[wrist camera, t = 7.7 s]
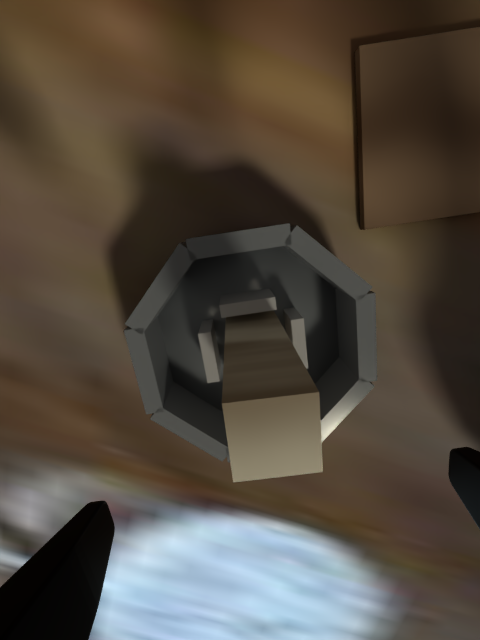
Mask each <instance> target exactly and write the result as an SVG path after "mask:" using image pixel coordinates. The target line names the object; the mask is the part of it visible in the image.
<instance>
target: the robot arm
mask: <svg viewBox="0 0 480 640" xmlns="http://www.w3.org/2000/svg"><path fill="white" fill-rule="evenodd" d="M449 479H450V482H451V484H452V486H453V487H454V489H455V491H456V492H457V494H458V495H459V497H460V499H461V500H462V502H463V503H464V505H465V507H466V508H467V510H468V511H469V513H470V514H471V516H472V518H473V519H474V521H475V522H476V524H477V526H478V527H479V529H480V452H479V451H476V450H474V449H472V448H469V447H462V448H455V449H452V450H451V451H450V457H449ZM114 530H115V527H114V522H113V519H112V516H111V513H110V510H109V507H108V505H107V503H106V502H105V501H96V502H90V503H88V504H87V505H86V506H84V507H83V508H82V509H81V510H80V511H79V512H78V513H77V514H76V515H75V516H74V517H73V518H72V519H71V520H70V521H69V522H68V523H67V524H66V525H65V526H64V527H63V528H62V529H60V530H59V531H58V532H57V533H56V534H55V535H54V536H53V537H52V538H51V539H50V540H49V541H48V542H47V543H46V544H45V545H44V546H43V547H42V548H41V549H40V550H39V551H38V552H37V553H36V554H34V555H33V556H32V557H31V558H30V559H29V560H28V561H27V562H26V563H25V564H24V565H23V566H22V567H21V568H20V569H19V570H18V571H17V572H16V573H15V574H14V575H13V576H12V577H11V578H10V579H8V580H7V581H6V582H5V583H4V584H3V585H2V586H1V587H0V640H88V639H89V636H90V632H91V629H92V626H93V623H94V619H95V616H96V612H97V609H98V605H99V601H100V597H101V593H102V588H103V583H104V579H105V574H106V569H107V565H108V560H109V556H110V551H111V546H112V542H113V537H114Z"/></svg>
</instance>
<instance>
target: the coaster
mask: <svg viewBox="0 0 480 640" xmlns="http://www.w3.org/2000/svg"><path fill="white" fill-rule="evenodd" d="M355 73H356V105H357V136H358V168H359V199H360V230H365V229H372V228H378V227H385V226H391V225H398V224H405V223H411V222H418V221H424V220H431V219H438V218H444V217H451V216H457V215H464V214H471V213H477V212H480V27H475V28H469V29H462V30H456V31H450V32H443V33H437V34H430V35H424V36H418V37H411V38H405V39H399V40H392V41H386V42H380V43H373V44H367V45H361V46H359V47H358V49H357V50H356V51H355Z"/></svg>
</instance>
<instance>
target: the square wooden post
mask: <svg viewBox="0 0 480 640" xmlns="http://www.w3.org/2000/svg"><path fill="white" fill-rule="evenodd" d="M222 408H223V415H224V422H225V428H226V435H227V442H228V449H229V455H230V462H231V469H232V476H233V482H241V481H249V480H258V479H266V478H275V477H283V476H292V475H300V474H309V473H317V472H323V464H322V442H321V419H320V397H319V391H318V389H317V387H316V385H315V383H314V382H313V380H312V378H311V376H310V375H309V373H308V371H307V369H306V367H305V366H304V364H303V362H302V360H301V358H300V357H299V355H298V353H297V351H296V349H295V348H294V346H293V344H292V342H291V340H290V339H289V337H288V335H287V333H286V332H285V330H284V328H283V326H282V324H281V323H280V321H279V319H278V317H277V315H276V314H275V312H274V311H266V312H258V313H251V314H244V315H238V316H231V317H226V323H225V345H224V367H223V389H222Z"/></svg>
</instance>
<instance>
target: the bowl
mask: <svg viewBox="0 0 480 640" xmlns="http://www.w3.org/2000/svg"><path fill="white" fill-rule="evenodd" d="M371 288H372V286H371V285H369V284H368V283H367V282H366V281H365V280H363V279H362V278H361V277H360V276H358V275H357V274H356V273H355V272H354V271H352V270H351V269H350V268H349V267H347V266H346V265H345V264H344V263H343V262H341V261H340V260H339V259H338V258H336V257H335V256H334V255H333V254H332V253H330V252H329V251H328V250H327V249H325V248H324V247H323V246H322V245H321V244H319V243H318V242H317V241H316V240H314V239H313V238H312V237H311V236H310V235H308V234H307V233H306V232H305V231H304V230H302V229H301V228H300V227H299V226H297V225H293V226H290V223H288V224H280V225H274V226H267V227H260V228H254V229H247V230H241V231H234V232H227V233H221V234H214V235H208V236H201V237H195V238H189V239H186V242H181V243H179V244H178V246H177V247H176V249H175V250H174V252H173V253H172V255H171V256H170V258H169V259H168V261H167V262H166V264H165V265H164V267H163V268H162V269H161V271H160V272H159V274H158V275H157V277H156V278H155V280H154V281H153V283H152V284H151V286H150V287H149V289H148V290H147V292H146V293H145V295H144V296H143V298H142V299H141V301H140V302H139V304H138V305H137V307H136V308H135V310H134V311H133V313H132V314H131V316H130V317H129V319H128V320H127V322H126V323H125V324H126V325H127V326H128V327H127V328H126V329H125V330H124V333H125V337H126V340H127V344H128V348H129V352H130V355H131V359H132V363H133V367H134V370H135V374H136V378H137V381H138V385H139V389H140V393H141V396H142V400H143V404H144V408H145V411H146V414H152V416H151V418H150V419H151V420H153V421H154V422H156V423H158V424H159V425H161V426H163V427H164V428H166V429H168V430H170V431H171V432H173V433H175V434H176V435H178V436H180V437H181V438H183V439H185V440H187V441H188V442H190V443H192V444H193V445H195V446H197V447H199V448H200V449H202V450H204V451H205V452H207V453H209V454H210V455H212V456H214V457H216V458H217V459H219V460H221V461H223V460H224V459H225V458H226V456H227V460H228V462H230V455H229V449H228V442H227V435H226V428H225V422H224V415H223V408H222V389H223V367H224V345H225V323H226V317H231V316H238V315H244V314H251V313H258V312H266V311H274V312H275V314H276V315H277V317H278V319H279V321H280V323H281V324H282V326H283V328H284V330H285V332H286V333H287V335H288V337H289V339H290V340H291V342H292V344H293V346H294V348H295V349H296V351H297V353H298V355H299V357H300V358H301V360H302V362H303V364H304V366H305V367H306V369H307V371H308V373H309V375H310V376H311V378H312V380H313V382H314V383H315V385H316V387H317V389H318V391H319V397H320V419H321V442H323V440H324V439H325V438H326V437H327V436H328V435H329V434H330V433H331V432H332V431H333V430H334V429H335V428H336V427H337V426H338V425H339V424H340V422H341V421H342V420H343V419H344V418H345V417H346V416H347V415H348V414H349V413H350V412H351V411H352V410H353V409H354V408H355V407H356V405H357V404H358V403H359V402H360V401H361V400H362V399H363V398H364V397H365V396H366V395H367V394H368V393H369V392H370V391H371V390H372V389H373V387H374V385H373V384H372V383H371V381H377V354H376V303H375V293H374V292H372V291H370V289H371Z"/></svg>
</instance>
